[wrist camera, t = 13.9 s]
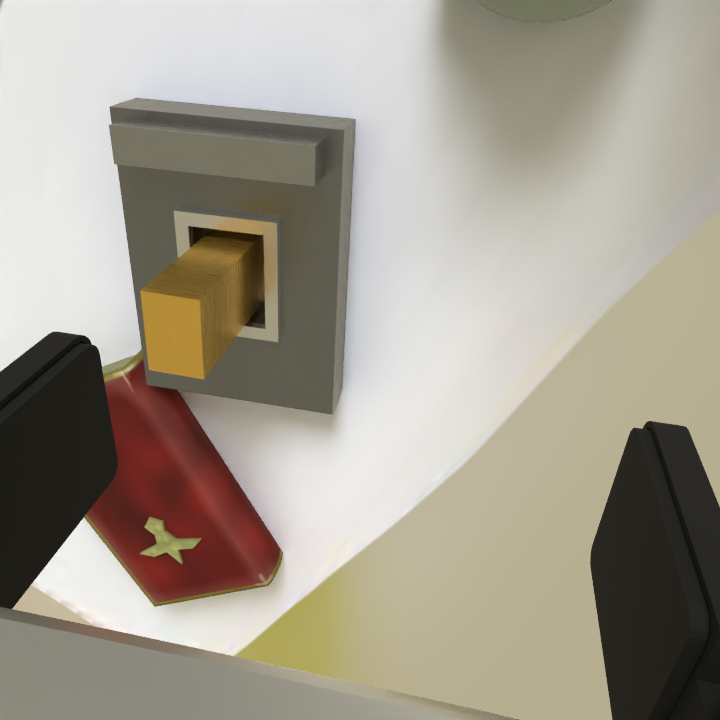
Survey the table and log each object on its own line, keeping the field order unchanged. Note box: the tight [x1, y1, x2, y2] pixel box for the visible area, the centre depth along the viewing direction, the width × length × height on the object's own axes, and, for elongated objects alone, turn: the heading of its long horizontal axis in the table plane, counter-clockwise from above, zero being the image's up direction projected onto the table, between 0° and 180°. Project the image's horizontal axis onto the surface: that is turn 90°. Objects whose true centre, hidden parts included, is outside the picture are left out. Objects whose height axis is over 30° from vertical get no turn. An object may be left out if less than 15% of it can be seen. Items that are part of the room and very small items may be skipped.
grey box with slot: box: [109, 98, 355, 414], centre depth 40 cm, size 18×13×5 cm
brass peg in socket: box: [140, 229, 265, 380], centre depth 37 cm, size 4×3×11 cm, turn 176°
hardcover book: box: [84, 349, 283, 606], centre depth 52 cm, size 12×21×4 cm, turn 25°
